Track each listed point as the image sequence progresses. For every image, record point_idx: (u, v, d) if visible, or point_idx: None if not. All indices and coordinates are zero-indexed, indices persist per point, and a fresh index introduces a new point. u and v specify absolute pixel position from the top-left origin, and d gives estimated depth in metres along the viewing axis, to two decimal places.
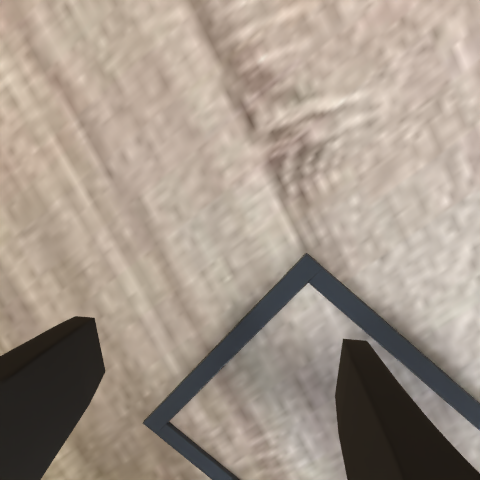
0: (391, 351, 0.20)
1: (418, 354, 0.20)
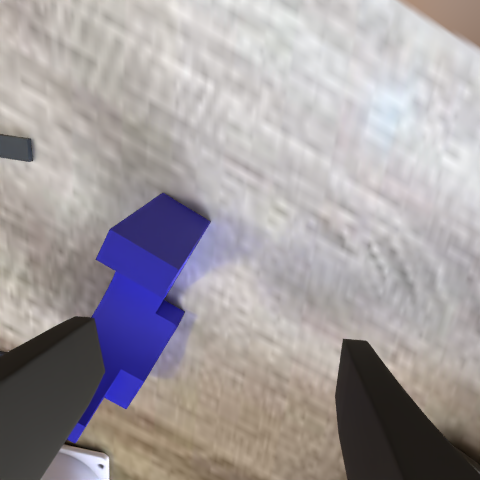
0: None
1: None
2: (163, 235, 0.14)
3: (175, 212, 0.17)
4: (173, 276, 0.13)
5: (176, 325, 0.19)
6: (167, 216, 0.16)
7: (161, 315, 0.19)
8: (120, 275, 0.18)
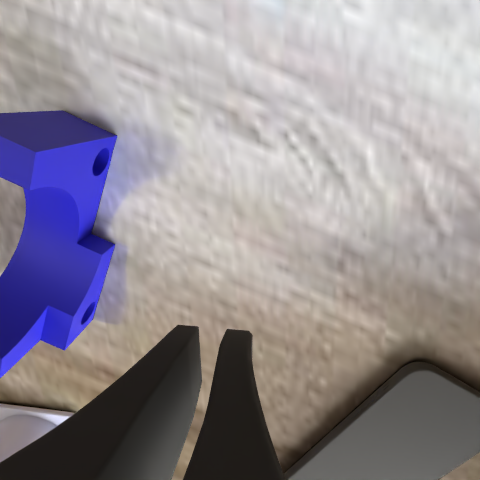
0: None
1: None
2: (34, 131, 0.13)
3: (68, 123, 0.16)
4: (32, 161, 0.12)
5: (100, 254, 0.18)
6: (53, 123, 0.15)
7: (84, 245, 0.18)
8: (31, 204, 0.18)
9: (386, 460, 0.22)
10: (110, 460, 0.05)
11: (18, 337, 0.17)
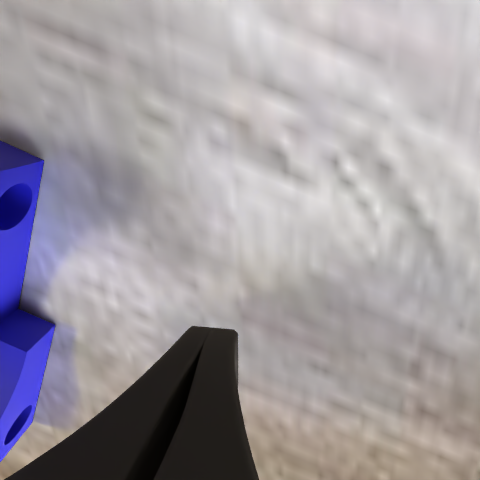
0: None
1: None
2: None
3: None
4: None
5: (24, 351, 0.11)
6: None
7: None
8: None
9: None
10: (135, 463, 0.05)
11: None
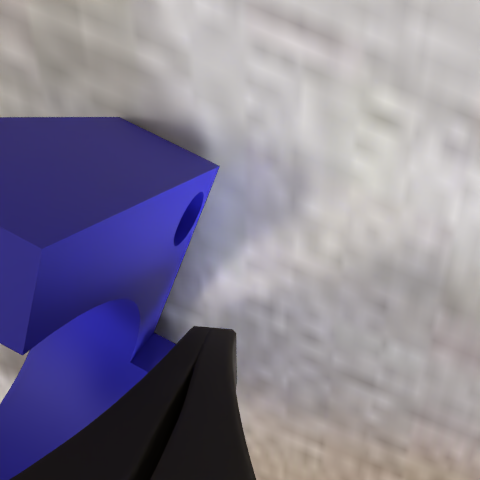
0: None
1: None
2: (55, 164, 0.05)
3: (132, 141, 0.08)
4: (31, 276, 0.03)
5: None
6: (103, 141, 0.07)
7: (143, 365, 0.10)
8: None
9: None
10: (139, 464, 0.05)
11: None
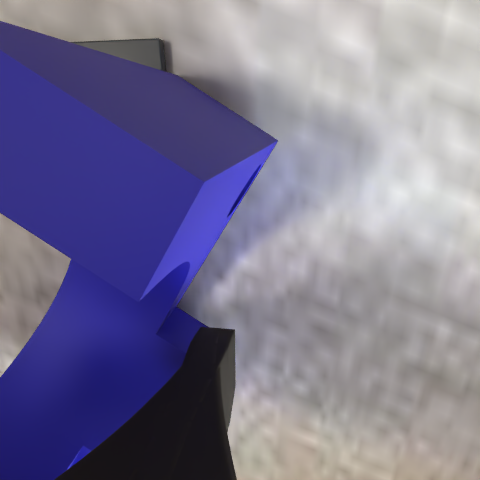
0: None
1: None
2: (159, 104, 0.05)
3: (202, 100, 0.07)
4: (179, 213, 0.03)
5: None
6: (181, 94, 0.06)
7: (169, 338, 0.10)
8: None
9: None
10: (175, 469, 0.05)
11: None
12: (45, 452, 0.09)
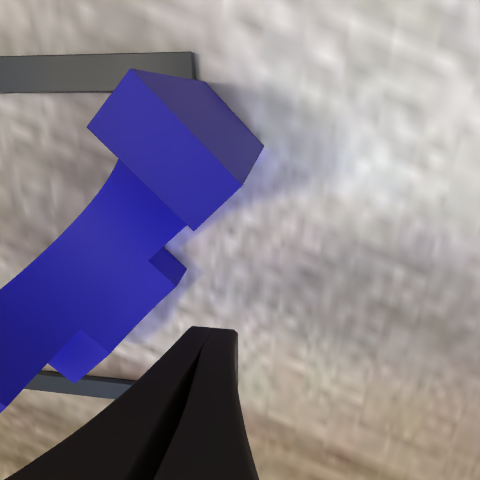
0: None
1: None
2: (212, 127, 0.08)
3: (223, 111, 0.11)
4: (227, 195, 0.07)
5: (174, 284, 0.13)
6: (214, 109, 0.10)
7: (156, 265, 0.13)
8: (110, 192, 0.12)
9: None
10: (135, 463, 0.05)
11: (31, 371, 0.12)
12: (52, 328, 0.13)
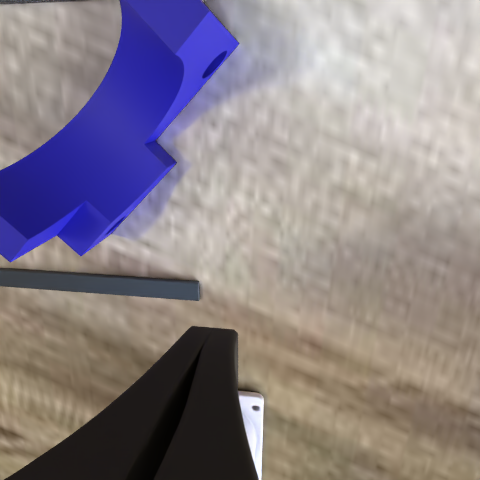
0: None
1: None
2: None
3: None
4: (198, 20, 0.10)
5: (165, 166, 0.16)
6: None
7: (150, 150, 0.16)
8: (112, 79, 0.15)
9: None
10: (135, 463, 0.05)
11: (47, 223, 0.14)
12: (63, 195, 0.15)
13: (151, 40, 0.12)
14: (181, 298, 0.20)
